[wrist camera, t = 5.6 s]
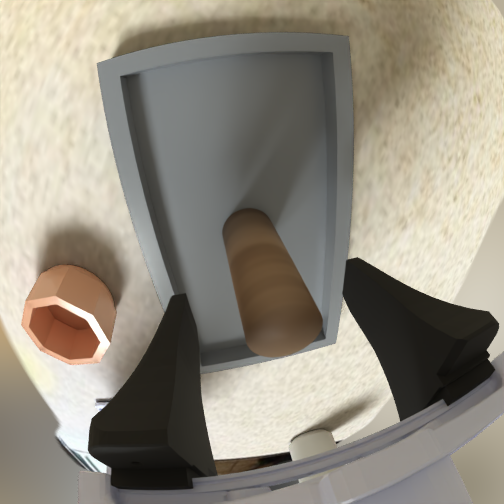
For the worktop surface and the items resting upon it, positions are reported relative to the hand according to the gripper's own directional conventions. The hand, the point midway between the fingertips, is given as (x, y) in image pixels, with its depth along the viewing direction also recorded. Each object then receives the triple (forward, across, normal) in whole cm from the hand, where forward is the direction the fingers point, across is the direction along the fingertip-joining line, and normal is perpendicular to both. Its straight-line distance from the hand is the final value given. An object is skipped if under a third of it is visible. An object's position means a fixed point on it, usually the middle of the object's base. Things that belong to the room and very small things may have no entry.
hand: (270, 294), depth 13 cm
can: (+6, -6, +40) cm, 41 cm away
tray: (+6, 0, 0) cm, 6 cm away
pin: (+6, 0, 0) cm, 6 cm away
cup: (+6, +13, +3) cm, 15 cm away
